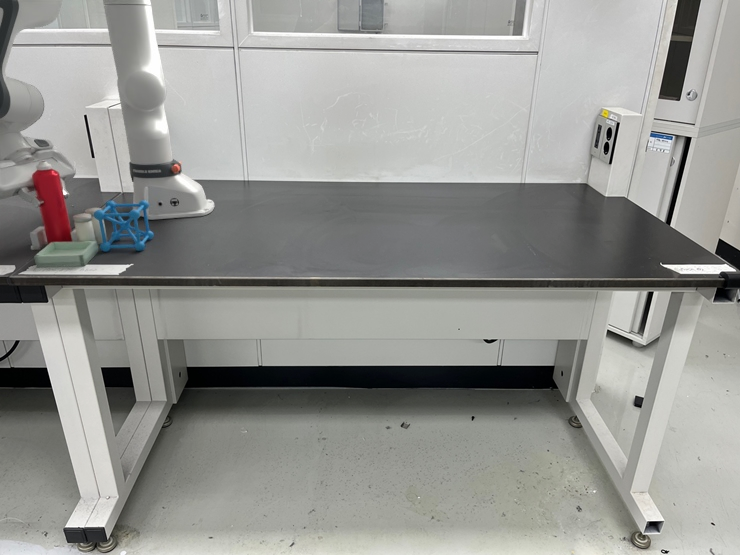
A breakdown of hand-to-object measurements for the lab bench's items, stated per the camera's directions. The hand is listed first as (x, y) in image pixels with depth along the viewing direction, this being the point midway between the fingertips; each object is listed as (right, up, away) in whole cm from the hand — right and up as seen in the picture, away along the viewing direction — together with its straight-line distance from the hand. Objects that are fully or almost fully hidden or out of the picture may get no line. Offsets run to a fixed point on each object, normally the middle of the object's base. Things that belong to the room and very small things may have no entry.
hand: (53, 201), depth 128 cm
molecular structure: (+15, -10, +6) cm, 19 cm away
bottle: (-1, -10, +5) cm, 11 cm away
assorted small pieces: (+2, -11, +2) cm, 11 cm away
